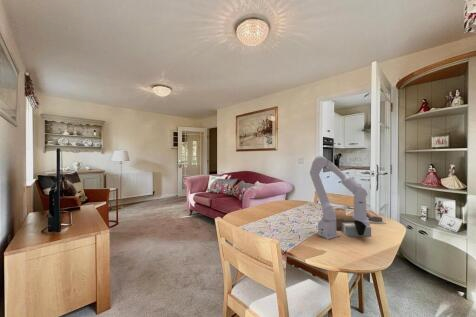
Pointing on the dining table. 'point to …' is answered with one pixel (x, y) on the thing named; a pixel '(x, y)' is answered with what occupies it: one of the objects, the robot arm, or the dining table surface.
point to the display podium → (343, 221)
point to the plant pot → (340, 212)
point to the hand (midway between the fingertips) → (360, 235)
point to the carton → (354, 230)
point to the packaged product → (374, 218)
